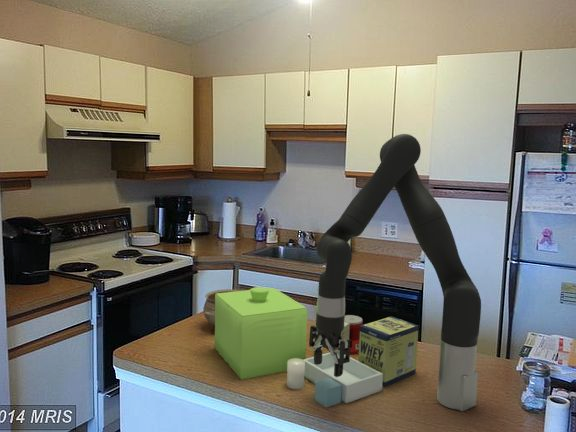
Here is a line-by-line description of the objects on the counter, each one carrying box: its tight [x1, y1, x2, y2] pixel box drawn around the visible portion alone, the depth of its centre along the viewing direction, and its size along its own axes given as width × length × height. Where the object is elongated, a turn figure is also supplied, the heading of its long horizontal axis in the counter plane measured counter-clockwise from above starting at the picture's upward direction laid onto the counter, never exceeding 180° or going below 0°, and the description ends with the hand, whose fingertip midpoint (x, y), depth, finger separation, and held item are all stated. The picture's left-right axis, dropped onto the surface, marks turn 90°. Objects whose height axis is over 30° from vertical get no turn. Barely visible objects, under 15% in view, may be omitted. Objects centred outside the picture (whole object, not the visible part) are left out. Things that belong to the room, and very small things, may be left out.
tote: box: [304, 350, 383, 404], centre depth 143 cm, size 20×14×5 cm
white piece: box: [286, 358, 305, 390], centre depth 140 cm, size 5×5×7 cm
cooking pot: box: [202, 288, 243, 326], centre depth 186 cm, size 25×19×12 cm
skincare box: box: [328, 322, 350, 353], centre depth 158 cm, size 6×4×12 cm
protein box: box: [358, 315, 419, 388], centre depth 149 cm, size 10×16×16 cm
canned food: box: [344, 314, 364, 355], centre depth 167 cm, size 8×8×11 cm
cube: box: [314, 378, 342, 408], centre depth 132 cm, size 5×5×5 cm
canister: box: [214, 286, 308, 380], centre depth 158 cm, size 25×21×23 cm
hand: (327, 369), depth 132 cm, fingers open, 8 cm apart
